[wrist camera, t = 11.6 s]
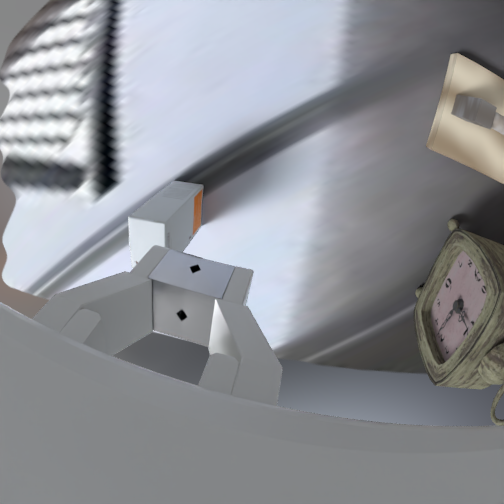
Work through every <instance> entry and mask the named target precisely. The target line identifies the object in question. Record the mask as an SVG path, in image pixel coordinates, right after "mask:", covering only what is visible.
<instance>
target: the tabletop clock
mask: <svg viewBox="0 0 504 504" xmlns="http://www.w3.org/2000/svg"><path fill="white" fill-rule="evenodd" d="M448 228H449V230H450V231H452V233H451V234H450V235H449V237H448V238H447V240H446V242H445V244H444V246H443V247H442V249H441V251H440V253H439V255H438V257H437V259H436V261H435V263H434V265H433V267H432V269H431V271H430V273H429V275H428V277H427V280H426V282H425V284H424V286H423V287H419V288H418V289H417V290H416V296H417V297H418V300H417V302H416V305H415V309H414V326H415V332H416V337H417V342H418V346H419V351H420V354H421V357H422V360H423V363H424V366H425V369H426V372H427V374H428V376H429V378H430V380H431V381H432V382H433V384H434V385H435V386H445V387H457V388H469V389H470V388H471V389H484V388H486V387H488V386H490V385H492V384H503V383H504V245H502V244H500V243H497V242H494V241H492V240H489V239H487V238H484V237H481V236H479V235H476V234H473V233H471V232H468V231H465V230H462V229H459V223H458V221H457V220H456V219H450V220H449V221H448ZM503 393H504V384H503V385H502V386H501V388H500V389H499V391H498V393H497V394H496V396H495V398H494V400H493V403H492V407H491V419H492V421H493V422H494V423H495V424H496V425H499V426H500V425H504V420H499V419H497V418H496V416H495V408H496V406H497V403H498V401H499V400H500V398H501V396H502V395H503Z"/></svg>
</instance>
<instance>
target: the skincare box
mask: <svg viewBox="0 0 504 504" xmlns="http://www.w3.org/2000/svg"><path fill="white" fill-rule="evenodd" d="M203 187H204V186H203V185H202V184H194V183H187V182H181V181H172V182H171V183H170V184H169V185H167V186H166V187H165V188H163V189H162V190H161V191H160V192H158V193H157V194H156V195H155V196H153V197H152V198H151V199H150V200H148V201H147V202H146V203H145V204H143V205H142V206H141V207H140V208H138V209H137V210H136V211H135V212H133V213H132V214H131V215H130V216H129V217H128V224H129V247H130V254H131V264H132V268H134V267H135V266H136V265H137V264H138V262H139V261H140V260H141V259H142V258H143V257H144V255H145V254H146V253H147V252H148V251H149V250H150V249H151V248H152V246H154V245H158V246H162V247H166V248H170V249H173V250H176V251H180V252H183V251H184V250H185V248H186V247H187V246H188V244H189V243H190V241H191V240H192V239H193V237H194V236H195V234H196V233H197V232H198V230H199V229H200V228H201V216H202V199H203Z"/></svg>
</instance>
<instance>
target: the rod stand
mask: <svg viewBox="0 0 504 504" xmlns="http://www.w3.org/2000/svg"><path fill="white" fill-rule="evenodd" d="M426 147H428V148H429V149H431V150H433V151H435V152H438V153H440V154H442V155H445V156H447V157H449V158H451V159H454V160H456V161H458V162H460V163H462V164H464V165H467V166H469V167H471V168H473V169H475V170H477V171H479V172H481V173H483V174H485V175H487V176H489V177H491V178H493V179H495V180H496V181H498V182H500V183H502V184H504V80H503V79H502V78H500V77H499V76H497V75H496V74H494V73H492V72H491V71H489V70H487V69H486V68H484V67H482V66H480V65H479V64H477V63H475V62H473V61H472V60H470V59H468V58H466V57H464V56H462V55H460V54H459V53H455V54H451V56H450V60H449V65H448V69H447V73H446V77H445V81H444V85H443V89H442V93H441V97H440V101H439V104H438V108H437V111H436V115H435V118H434V122H433V125H432V128H431V132H430V135H429V138H428V141H427V144H426Z"/></svg>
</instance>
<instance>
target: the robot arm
mask: <svg viewBox="0 0 504 504" xmlns="http://www.w3.org/2000/svg"><path fill="white" fill-rule="evenodd" d="M252 277H253V270H251V269H246V268H242V267H237V266H236V267H235V266H232V265H228V264H223V263H219V262H215V261H211V260H207V259H203V258H201V257H197V256H194V255H190V254H187V253H183V252H180V251H176V250H173V249H170V248H166V247H162V246H158V245H154V246H152V248H151V249H150V250H149V251H148V252H147V253H146V254H145V255H144V257H143V258H142V259H141V260H140V261H139V262H138V264H137V265H136V266H135V267H134V268H133V269H132V270H131V272H130V273H129V272H122V273H119V274H116V275H113V276H109V277H106V278H103V279H100V280H97V281H94V282H91V283H88V284H85V285H82V286H79V287H76V288H73V289H70V290H67V291H64V292H61V293H58V294H55V295H54V296H53V297H52V298H51V299H50V300H49V301H48V302H47V303H46V305H45V306H44V307H43V308H42V309H41V310H40V311H39V312H38V313H37V314H36V315H35V316H34V317H33V318H32V319H30V318H28V317H26V316H25V315H23V314H21V313H19V312H17V311H15V310H14V309H11V308H10V307H8V306H6V305H5V304H3V303H1V302H0V504H504V425H500V426H471V427H470V426H468V427H467V426H466V427H465V426H464V427H462V426H456V427H455V426H422V425H406V424H393V423H382V422H372V421H364V420H355V419H348V418H341V417H334V416H328V415H321V414H315V413H310V412H304V411H298V410H293V409H288V408H284V407H279V406H277V401H278V395H279V389H280V382H281V375H282V369H283V368H282V366H281V365H280V363H279V361H278V359H277V357H276V356H275V354H274V352H273V350H272V349H271V347H270V345H269V343H268V342H267V340H266V338H265V336H264V335H263V333H262V331H261V329H260V327H259V326H258V324H257V322H256V320H255V318H254V317H253V315H252V313H251V311H250V309H249V308H248V306H246V303H247V299H248V294H249V290H250V286H251V281H252ZM153 330H154V331H157V332H161V333H164V334H168V335H171V336H175V337H178V338H181V339H184V340H187V341H190V342H194V343H197V344H200V345H203V346H206V347H209V352H210V357H209V359H208V362H207V365H206V367H205V369H204V372H203V374H202V377H201V379H200V382H199V384H198V386H197V385H193V384H190V383H187V382H184V381H181V380H177V379H174V378H171V377H168V376H165V375H162V374H159V373H156V372H154V371H151V370H148V369H145V368H142V367H140V366H137V365H134V364H132V363H129V362H126V361H124V360H121V359H119V358H116V357H114V356H112V355H114V354H116V353H117V352H119V351H121V350H122V349H124V348H126V347H127V346H129V345H131V344H133V343H134V342H136V341H138V340H139V339H141V338H143V337H144V336H146V335H148V334H150V333H151V332H153Z"/></svg>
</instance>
